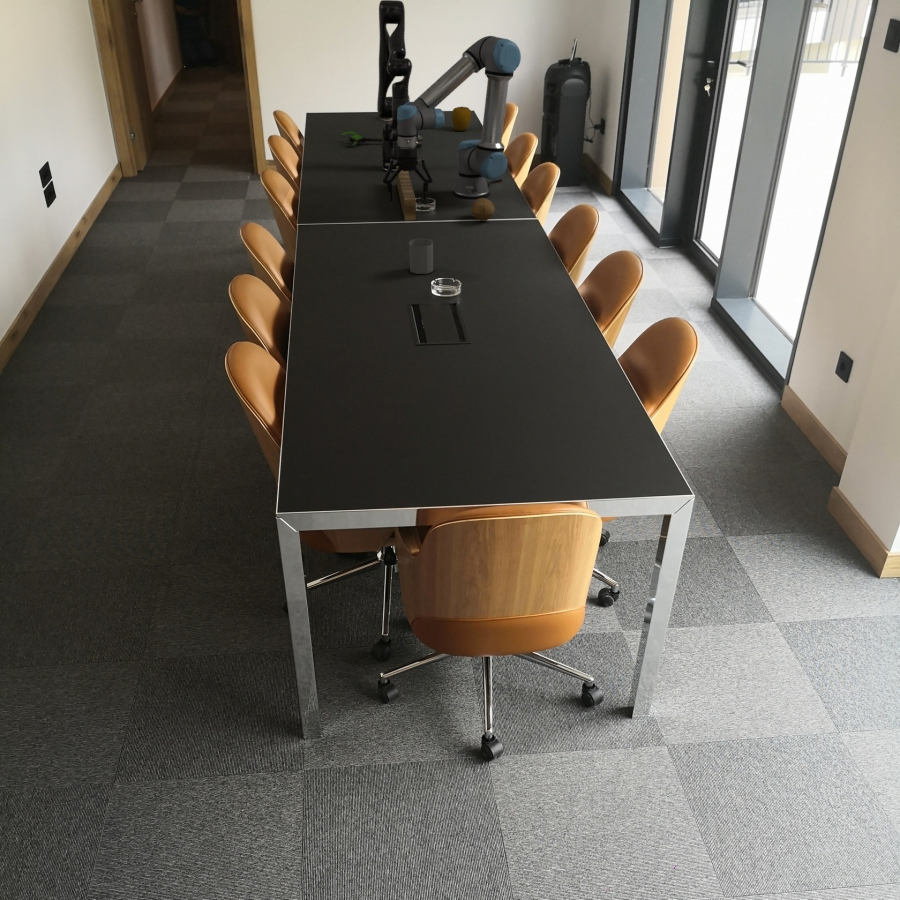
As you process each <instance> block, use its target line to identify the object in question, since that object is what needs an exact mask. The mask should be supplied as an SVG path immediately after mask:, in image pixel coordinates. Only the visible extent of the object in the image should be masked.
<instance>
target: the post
mask: <svg viewBox="0 0 900 900" xmlns="http://www.w3.org/2000/svg"><path fill="white" fill-rule="evenodd" d="M398 167H399V166H396V170H397V168H398ZM396 187H397V191H398V197H399V201H400V205H401V210H402V214H403V218H404V221H405V222H408V221H409V222H410V221H411V222H412V221H417V199H416V196H415V191H414V188H413V185H412V181H411V177H410V174H409V171H403V170H402V171H401V172H400V173H399V174H398V175H397V176H396Z"/></svg>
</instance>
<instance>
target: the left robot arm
mask: <svg viewBox="0 0 900 900" xmlns="http://www.w3.org/2000/svg"><path fill="white" fill-rule="evenodd" d="M404 4H405V3H404V2H403V1H402V0H380V2H379V4H378V27H379V28H378V29H379V33H378V34H379V44H378V45H379V47H378V48H379V49H378V91H377V101H376V103H377V104H376V111H377V115H378V117H379V118H380V119H391V118H392V120H391V121H385V124H382V126H381V139H382V142H381V151H382V152H381V153H382V170H383V171H385V172H387V170H388V167H389V165H390V159H393V160H397V159H398V147H399V146H398V123H397V112H398V107H399V106H402V105H404V104H405V103H407V102H409V98H410V95H409V85H410V79H411V75H412V72H413V63H412V61H411V59H409V58H408V57H406V56H407V49H406V40H405V39H406V38H405V37H406V35H405V34H406V9H405V5H404ZM387 25H396V27H395V28H394V30H393V31H392V32H391V34H390V33H389V30H388V28H387ZM396 77H403V78H402V79H401V80H400V81H396V82H393V81H394V80H395V78H396ZM390 86H391V96H387V95H388V94H387V93H388V90H389V89H390ZM418 131H419V130H417V138H418V137H419V132H418ZM396 166H399V165H398V164H397V163H396V164H395V165H393V168H392V170H391V172H390V173H392V172H393V173H394V172H395V171H396Z"/></svg>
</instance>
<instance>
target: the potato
mask: <svg viewBox="0 0 900 900" xmlns="http://www.w3.org/2000/svg"><path fill="white" fill-rule="evenodd" d="M494 212H495V205H494V203H493V202H492V201H491V200H489V199H488V198H485V197H483V198H476V199H475V200H474V201H473V203H472V204H471V208H470V213H471V215H472V217H474V218H475V219H477V220H479V221H488V220H489V219H491V218H492V217H493V215H494Z"/></svg>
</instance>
